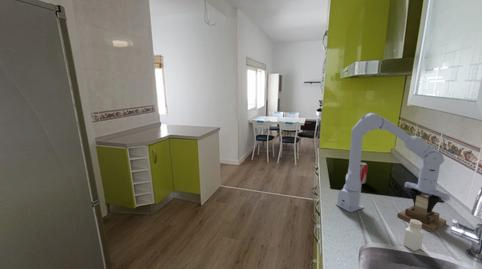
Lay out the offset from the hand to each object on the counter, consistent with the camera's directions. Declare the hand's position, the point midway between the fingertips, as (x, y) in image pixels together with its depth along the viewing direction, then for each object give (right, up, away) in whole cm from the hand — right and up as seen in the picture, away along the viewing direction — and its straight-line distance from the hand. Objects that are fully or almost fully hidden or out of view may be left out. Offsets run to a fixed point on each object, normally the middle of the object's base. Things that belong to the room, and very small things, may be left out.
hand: (422, 209), depth 90 cm
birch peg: (0, -2, 0) cm, 2 cm away
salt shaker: (-16, -8, -15) cm, 24 cm away
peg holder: (0, -5, +1) cm, 5 cm away
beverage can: (-4, +2, +40) cm, 40 cm away
